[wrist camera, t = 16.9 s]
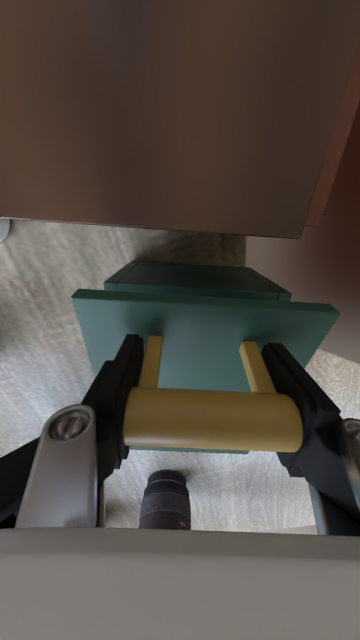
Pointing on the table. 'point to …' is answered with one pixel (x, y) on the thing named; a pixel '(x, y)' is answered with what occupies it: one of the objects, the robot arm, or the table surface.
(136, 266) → the chest
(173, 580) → the robot arm
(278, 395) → the lid
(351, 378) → the table surface
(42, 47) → the cabinet
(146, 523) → the camera lens
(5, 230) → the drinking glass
